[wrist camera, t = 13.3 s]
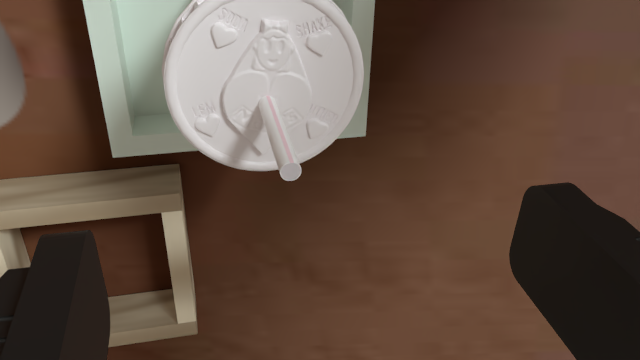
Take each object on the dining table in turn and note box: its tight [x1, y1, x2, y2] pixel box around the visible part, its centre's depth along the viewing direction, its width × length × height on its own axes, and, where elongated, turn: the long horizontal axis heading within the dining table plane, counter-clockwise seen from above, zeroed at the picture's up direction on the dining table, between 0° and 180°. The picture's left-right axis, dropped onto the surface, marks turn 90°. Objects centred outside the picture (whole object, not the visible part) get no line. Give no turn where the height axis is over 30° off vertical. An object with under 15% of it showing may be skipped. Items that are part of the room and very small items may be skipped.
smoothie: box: [162, 0, 364, 181], centre depth 20 cm, size 6×6×14 cm
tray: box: [83, 0, 375, 158], centre depth 25 cm, size 12×12×3 cm
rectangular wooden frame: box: [0, 164, 198, 347], centre depth 30 cm, size 10×10×3 cm
